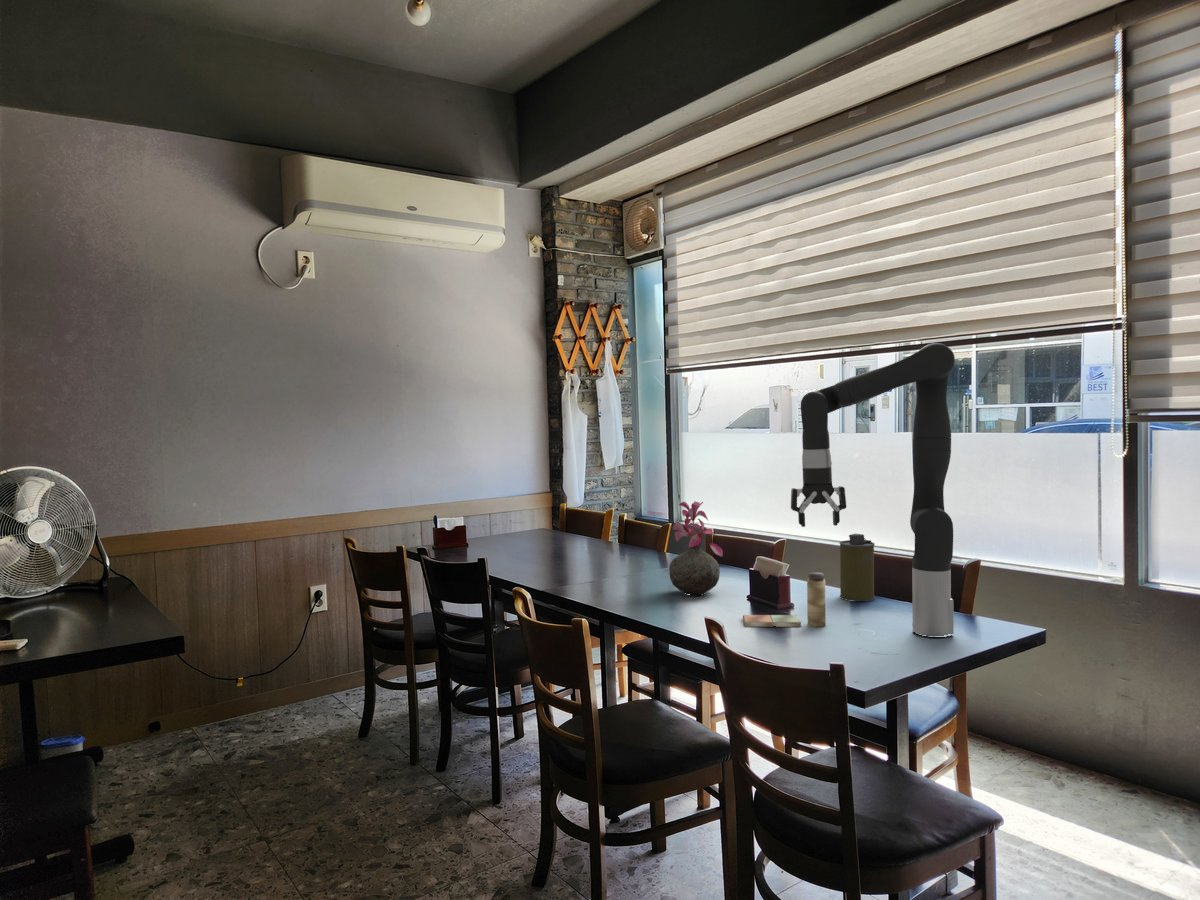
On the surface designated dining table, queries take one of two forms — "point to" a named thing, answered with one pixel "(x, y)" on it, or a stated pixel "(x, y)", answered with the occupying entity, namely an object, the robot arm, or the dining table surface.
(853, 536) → the canister
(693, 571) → the vase
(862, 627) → the dining table surface
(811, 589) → the pepper mill
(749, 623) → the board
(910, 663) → the dining table surface
